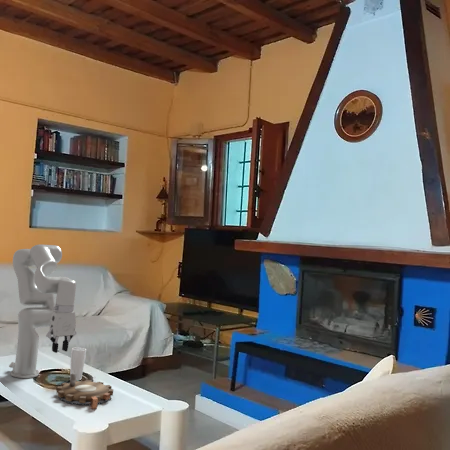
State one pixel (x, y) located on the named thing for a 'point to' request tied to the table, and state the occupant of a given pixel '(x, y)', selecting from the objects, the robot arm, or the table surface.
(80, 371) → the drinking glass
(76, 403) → the sprocket stand
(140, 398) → the table surface
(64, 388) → the sprocket
